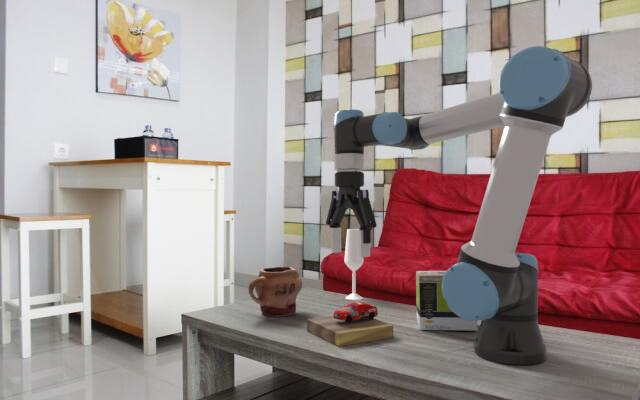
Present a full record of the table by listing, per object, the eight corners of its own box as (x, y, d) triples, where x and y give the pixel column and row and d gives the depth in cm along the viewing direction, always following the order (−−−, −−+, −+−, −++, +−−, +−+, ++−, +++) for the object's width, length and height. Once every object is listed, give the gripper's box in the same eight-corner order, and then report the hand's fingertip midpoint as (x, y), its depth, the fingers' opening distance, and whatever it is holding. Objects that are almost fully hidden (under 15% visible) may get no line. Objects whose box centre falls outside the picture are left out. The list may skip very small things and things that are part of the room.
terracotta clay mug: (267, 325, 141) (267, 274, 141) (236, 318, 148) (236, 270, 148) (312, 312, 156) (312, 266, 156) (282, 307, 164) (282, 263, 164)
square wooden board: (393, 337, 128) (393, 325, 128) (338, 346, 120) (338, 333, 120) (358, 323, 142) (358, 312, 142) (307, 330, 134) (307, 319, 134)
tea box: (470, 323, 143) (470, 270, 143) (477, 332, 133) (477, 275, 133) (415, 321, 145) (415, 269, 145) (419, 330, 135) (419, 274, 135)
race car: (341, 323, 127) (342, 307, 127) (328, 319, 131) (329, 303, 131) (381, 318, 134) (381, 303, 134) (367, 314, 139) (367, 299, 139)
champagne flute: (354, 301, 173) (354, 230, 173) (340, 298, 178) (340, 229, 178) (367, 298, 177) (367, 229, 177) (353, 295, 182) (353, 228, 182)
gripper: (390, 168, 122) (391, 258, 122) (336, 174, 144) (337, 249, 144) (364, 168, 118) (365, 260, 118) (313, 173, 140) (313, 251, 140)
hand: (349, 254), depth 131 cm, fingers open, 13 cm apart
